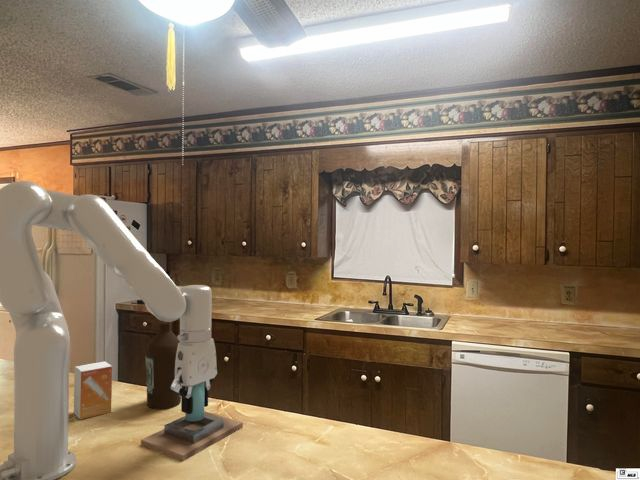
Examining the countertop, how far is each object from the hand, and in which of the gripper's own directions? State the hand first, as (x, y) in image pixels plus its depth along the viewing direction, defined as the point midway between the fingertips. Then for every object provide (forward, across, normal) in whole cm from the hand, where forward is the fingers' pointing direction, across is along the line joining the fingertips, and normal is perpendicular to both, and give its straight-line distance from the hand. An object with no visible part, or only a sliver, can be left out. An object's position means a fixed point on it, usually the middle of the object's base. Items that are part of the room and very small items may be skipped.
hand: (194, 408), depth 106 cm
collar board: (+7, 0, 0) cm, 7 cm away
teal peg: (+2, 0, 0) cm, 2 cm away
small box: (+7, -5, +34) cm, 35 cm away
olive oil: (+7, +10, +23) cm, 26 cm away
